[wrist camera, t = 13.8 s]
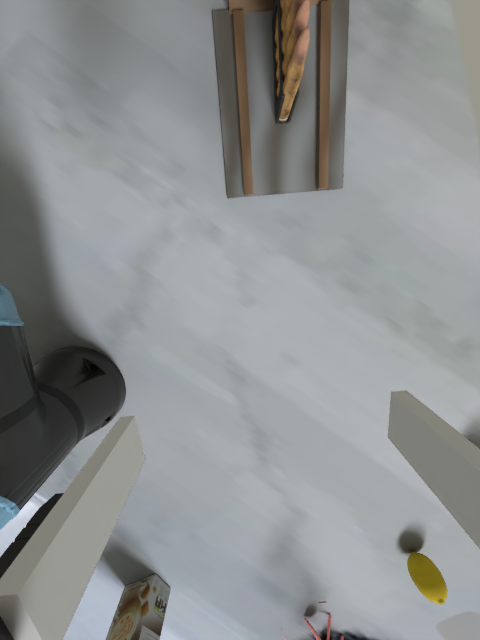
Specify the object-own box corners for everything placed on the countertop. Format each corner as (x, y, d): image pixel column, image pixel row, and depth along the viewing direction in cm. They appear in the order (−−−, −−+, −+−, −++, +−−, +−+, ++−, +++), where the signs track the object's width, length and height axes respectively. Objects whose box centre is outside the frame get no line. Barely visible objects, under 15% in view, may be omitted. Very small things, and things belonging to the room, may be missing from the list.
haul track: (227, 198, 33) (224, 185, 27) (209, -25, 27) (200, -102, 21) (341, 188, 33) (362, 173, 27) (349, -41, 27) (379, -123, 21)
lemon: (400, 543, 51) (428, 595, 43) (426, 542, 50) (459, 593, 43) (398, 561, 52) (425, 614, 44) (423, 560, 52) (455, 613, 44)
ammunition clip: (271, 18, 28) (292, -154, 16) (287, 16, 28) (319, -158, 16) (275, 124, 31) (296, 43, 19) (289, 123, 30) (319, 41, 19)
